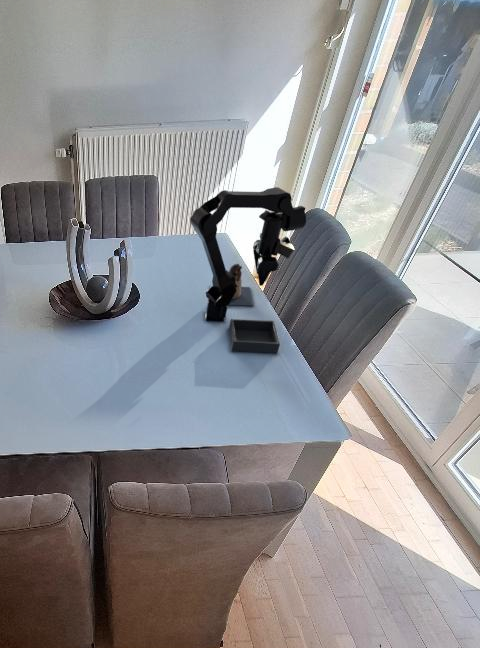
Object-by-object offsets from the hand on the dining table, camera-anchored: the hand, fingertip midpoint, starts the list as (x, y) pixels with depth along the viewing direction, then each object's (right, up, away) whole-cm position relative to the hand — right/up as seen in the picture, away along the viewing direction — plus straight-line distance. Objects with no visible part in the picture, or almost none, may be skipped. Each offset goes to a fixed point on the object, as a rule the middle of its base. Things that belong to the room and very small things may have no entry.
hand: (259, 279), depth 161 cm
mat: (-5, 0, +17) cm, 18 cm away
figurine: (-5, +1, +17) cm, 18 cm away
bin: (-5, -23, -5) cm, 24 cm away
